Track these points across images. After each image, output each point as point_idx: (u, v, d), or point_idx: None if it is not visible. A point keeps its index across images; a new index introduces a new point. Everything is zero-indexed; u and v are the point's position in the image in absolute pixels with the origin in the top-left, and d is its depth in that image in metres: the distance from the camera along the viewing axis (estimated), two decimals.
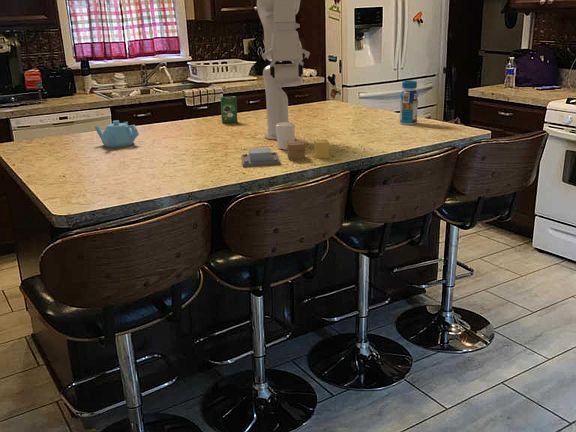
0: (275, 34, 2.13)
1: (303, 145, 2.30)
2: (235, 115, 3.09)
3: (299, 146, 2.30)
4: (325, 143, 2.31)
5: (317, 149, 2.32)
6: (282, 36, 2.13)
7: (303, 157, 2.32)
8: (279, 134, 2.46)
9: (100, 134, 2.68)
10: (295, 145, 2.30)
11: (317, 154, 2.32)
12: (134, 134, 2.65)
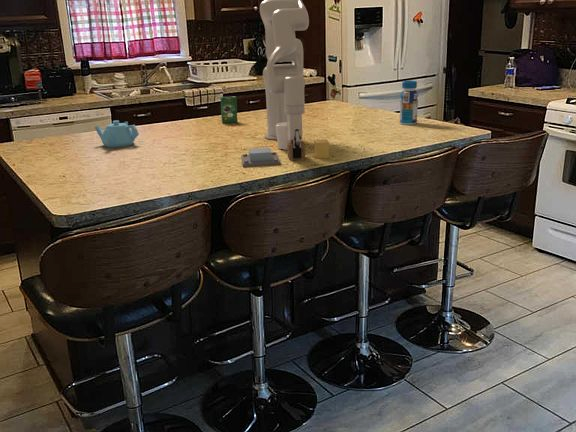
0: (301, 116, 2.26)
1: (303, 145, 2.30)
2: (235, 115, 3.09)
3: None
4: (325, 143, 2.31)
5: (317, 149, 2.32)
6: None
7: (303, 157, 2.32)
8: (279, 134, 2.46)
9: (100, 134, 2.68)
10: None
11: (317, 154, 2.32)
12: (134, 134, 2.65)
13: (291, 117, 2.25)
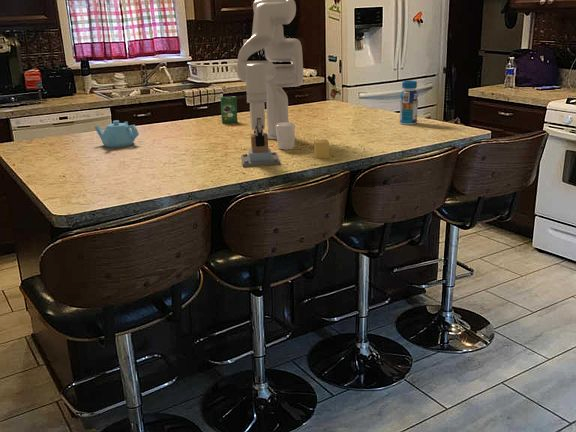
0: (263, 104, 2.21)
1: (266, 137, 2.26)
2: (235, 115, 3.09)
3: None
4: (325, 143, 2.31)
5: (317, 149, 2.32)
6: None
7: (266, 149, 2.27)
8: (279, 134, 2.46)
9: (100, 134, 2.68)
10: None
11: (317, 154, 2.32)
12: (134, 134, 2.65)
13: (253, 105, 2.20)
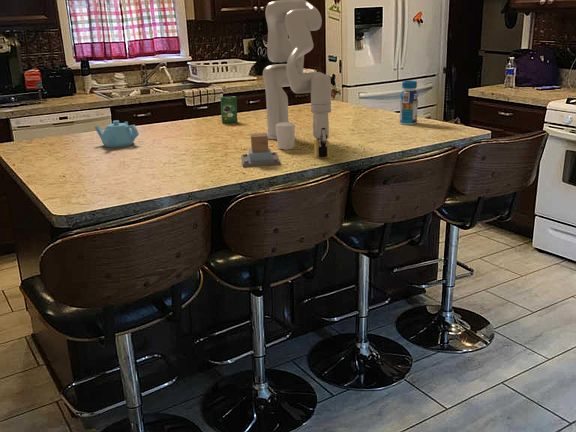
0: (327, 114, 2.27)
1: (266, 137, 2.26)
2: (235, 115, 3.09)
3: (262, 138, 2.26)
4: None
5: (317, 149, 2.32)
6: None
7: (266, 149, 2.27)
8: (279, 134, 2.46)
9: (100, 134, 2.68)
10: (258, 137, 2.25)
11: (317, 154, 2.32)
12: (134, 134, 2.65)
13: (318, 116, 2.26)
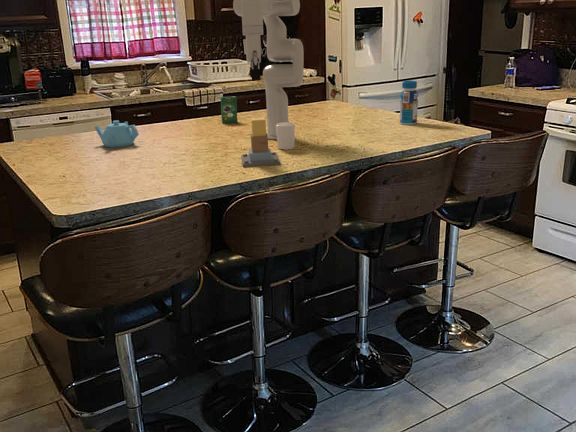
0: (259, 37, 2.18)
1: (266, 137, 2.26)
2: (235, 115, 3.09)
3: (262, 138, 2.26)
4: (261, 120, 2.24)
5: (253, 127, 2.24)
6: None
7: (266, 149, 2.27)
8: (279, 134, 2.46)
9: (100, 134, 2.68)
10: (258, 137, 2.25)
11: (253, 132, 2.25)
12: (134, 134, 2.65)
13: (248, 38, 2.17)
